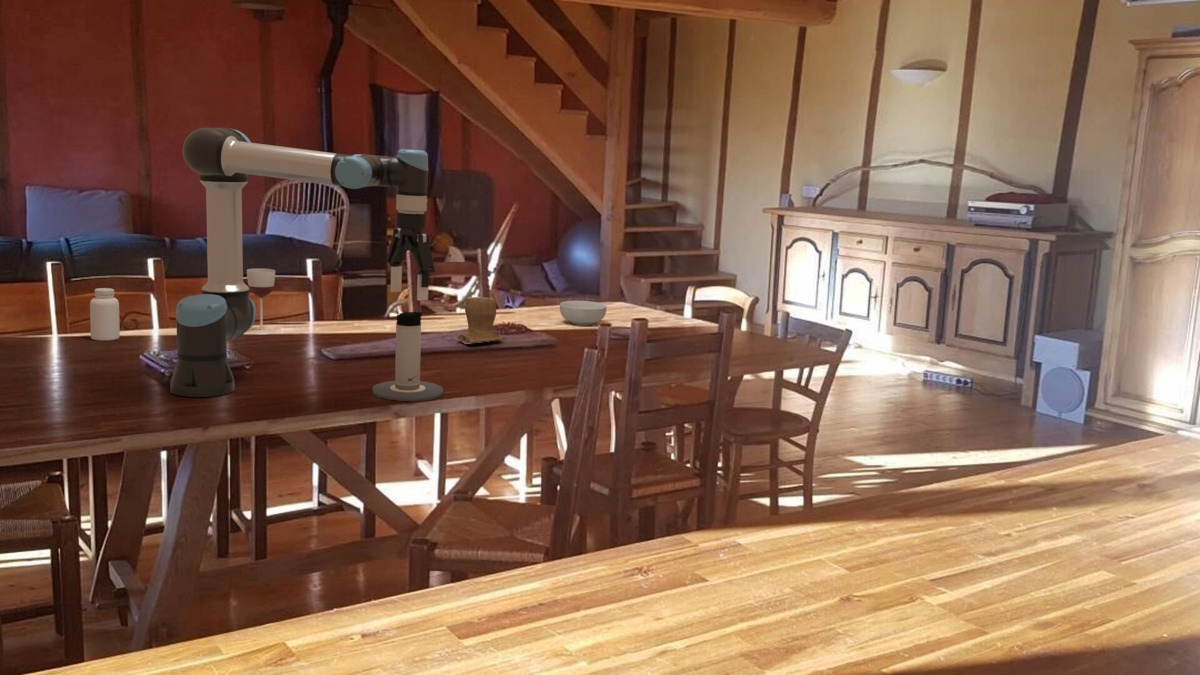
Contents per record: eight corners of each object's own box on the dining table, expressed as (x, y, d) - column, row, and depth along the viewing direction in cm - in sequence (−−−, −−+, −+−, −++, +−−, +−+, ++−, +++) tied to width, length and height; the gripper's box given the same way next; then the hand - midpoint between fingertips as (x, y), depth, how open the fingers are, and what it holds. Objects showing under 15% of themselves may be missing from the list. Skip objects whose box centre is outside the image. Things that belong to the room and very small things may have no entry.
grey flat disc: (393, 404, 269) (393, 399, 269) (359, 389, 283) (359, 383, 283) (456, 396, 281) (456, 391, 280) (420, 382, 294) (420, 377, 294)
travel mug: (415, 391, 278) (417, 314, 274) (391, 389, 279) (392, 312, 275) (424, 386, 284) (426, 310, 280) (400, 383, 285) (402, 308, 281)
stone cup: (484, 337, 361) (485, 292, 359) (507, 343, 353) (509, 297, 351) (447, 341, 351) (448, 295, 348) (471, 348, 343) (472, 300, 340)
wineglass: (271, 335, 345) (270, 272, 342) (243, 333, 345) (243, 271, 342) (278, 330, 353) (278, 269, 349) (251, 329, 353) (251, 267, 349)
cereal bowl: (554, 325, 390) (555, 305, 388) (564, 318, 406) (564, 299, 405) (601, 329, 387) (602, 309, 386) (608, 321, 403) (610, 302, 402)
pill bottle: (125, 338, 328) (124, 289, 326) (101, 342, 322) (99, 292, 319) (109, 335, 333) (108, 286, 330) (85, 338, 326) (83, 288, 323)
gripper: (450, 217, 266) (447, 302, 270) (400, 207, 285) (398, 287, 289) (423, 217, 261) (420, 304, 265) (374, 207, 280) (372, 288, 284)
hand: (408, 295), depth 277 cm, fingers open, 13 cm apart
